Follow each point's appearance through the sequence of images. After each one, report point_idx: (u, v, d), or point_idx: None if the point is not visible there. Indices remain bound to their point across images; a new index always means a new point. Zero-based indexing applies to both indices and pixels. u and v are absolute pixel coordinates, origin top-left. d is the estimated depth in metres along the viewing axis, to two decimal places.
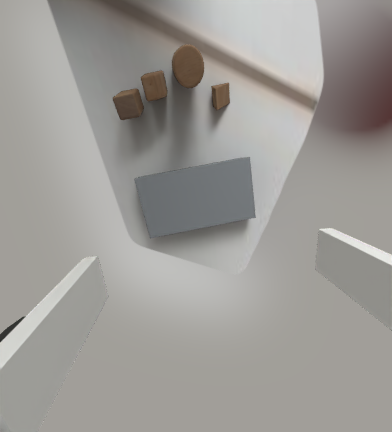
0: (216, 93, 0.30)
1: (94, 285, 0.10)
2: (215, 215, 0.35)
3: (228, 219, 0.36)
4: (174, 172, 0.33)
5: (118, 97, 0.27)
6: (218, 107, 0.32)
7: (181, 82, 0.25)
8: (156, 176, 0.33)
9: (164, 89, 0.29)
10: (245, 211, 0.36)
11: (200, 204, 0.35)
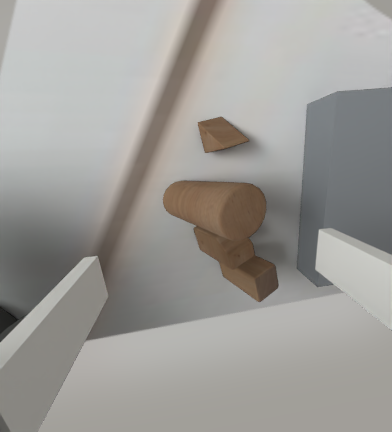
0: (229, 144, 0.17)
1: (94, 285, 0.10)
2: None
3: None
4: None
5: (258, 295, 0.19)
6: (244, 138, 0.18)
7: (261, 221, 0.14)
8: None
9: None
10: None
11: (385, 194, 0.20)
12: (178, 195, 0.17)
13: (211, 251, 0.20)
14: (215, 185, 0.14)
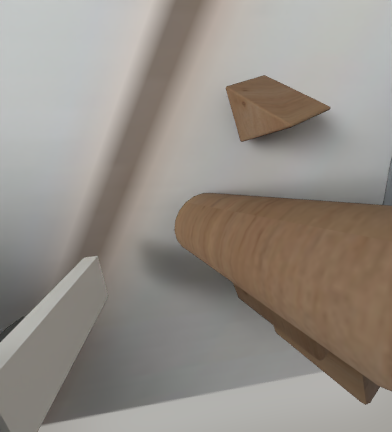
0: (297, 118, 0.09)
1: (94, 285, 0.10)
2: None
3: None
4: None
5: (366, 396, 0.10)
6: (320, 105, 0.10)
7: None
8: None
9: None
10: None
11: None
12: (206, 228, 0.09)
13: (265, 312, 0.12)
14: (311, 215, 0.05)
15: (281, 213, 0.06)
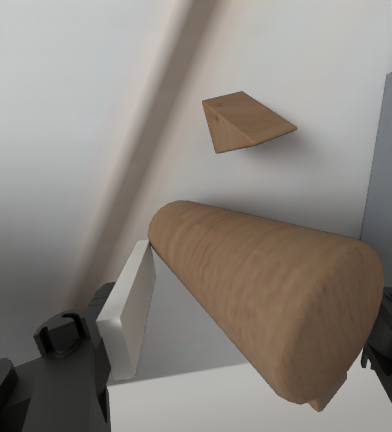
0: (262, 137, 0.09)
1: (149, 263, 0.12)
2: None
3: None
4: None
5: (319, 404, 0.11)
6: (288, 125, 0.10)
7: (372, 325, 0.05)
8: None
9: None
10: None
11: None
12: (170, 236, 0.09)
13: None
14: (249, 234, 0.06)
15: (228, 229, 0.07)
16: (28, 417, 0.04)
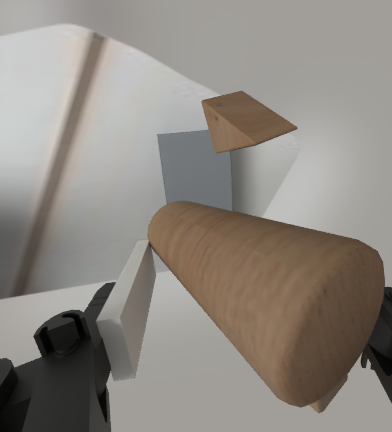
0: (262, 137, 0.09)
1: (150, 263, 0.12)
2: (219, 178, 0.32)
3: (226, 163, 0.31)
4: None
5: (319, 405, 0.11)
6: (288, 124, 0.10)
7: (373, 327, 0.05)
8: None
9: None
10: None
11: (205, 194, 0.32)
12: (169, 237, 0.09)
13: None
14: (249, 235, 0.06)
15: (228, 230, 0.06)
16: (28, 416, 0.04)
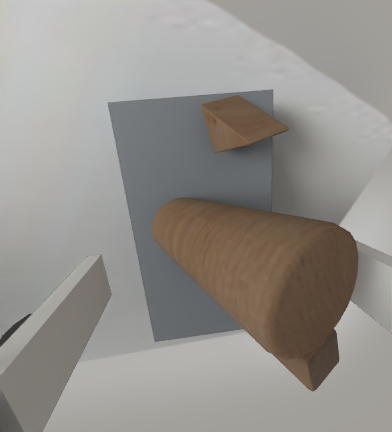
0: (256, 137, 0.10)
1: (98, 283, 0.10)
2: (246, 199, 0.15)
3: (263, 168, 0.14)
4: (144, 278, 0.16)
5: (312, 384, 0.12)
6: (280, 126, 0.11)
7: (349, 298, 0.06)
8: (151, 308, 0.17)
9: None
10: None
11: None
12: (173, 229, 0.10)
13: None
14: (243, 222, 0.07)
15: (225, 219, 0.07)
16: None
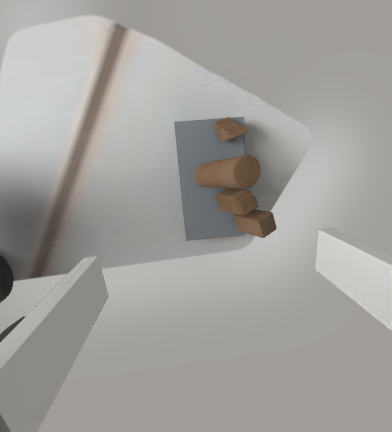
0: (235, 135, 0.27)
1: (94, 285, 0.10)
2: None
3: (240, 151, 0.32)
4: (183, 204, 0.34)
5: (262, 233, 0.29)
6: (245, 130, 0.28)
7: (258, 177, 0.24)
8: (185, 221, 0.35)
9: (243, 191, 0.29)
10: None
11: None
12: (206, 169, 0.27)
13: (228, 207, 0.30)
14: (229, 158, 0.24)
15: (224, 160, 0.25)
16: None
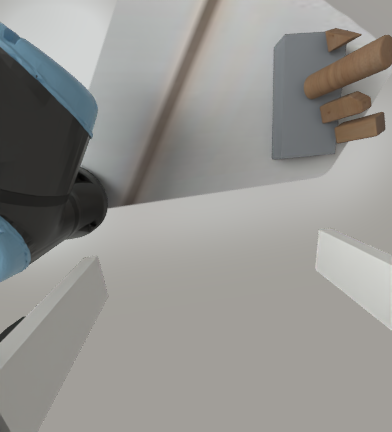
0: (352, 36, 0.30)
1: (94, 285, 0.10)
2: None
3: None
4: (283, 120, 0.36)
5: (377, 130, 0.31)
6: (358, 33, 0.30)
7: None
8: (283, 138, 0.37)
9: (357, 93, 0.31)
10: None
11: None
12: (327, 70, 0.30)
13: (339, 112, 0.32)
14: (363, 46, 0.26)
15: None
16: None
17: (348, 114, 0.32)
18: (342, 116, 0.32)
